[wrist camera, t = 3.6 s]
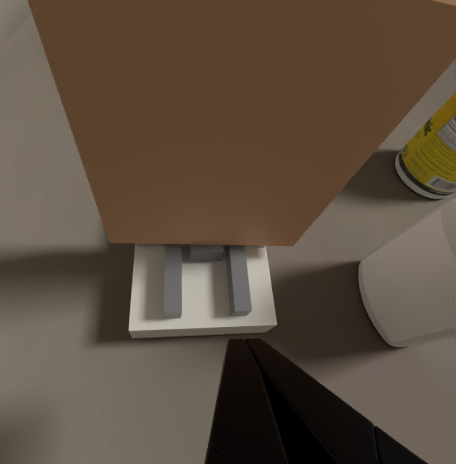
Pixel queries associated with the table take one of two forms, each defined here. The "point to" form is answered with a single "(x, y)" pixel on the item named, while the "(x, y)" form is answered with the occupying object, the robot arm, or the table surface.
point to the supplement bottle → (432, 155)
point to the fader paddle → (234, 106)
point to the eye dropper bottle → (414, 281)
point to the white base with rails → (200, 292)
